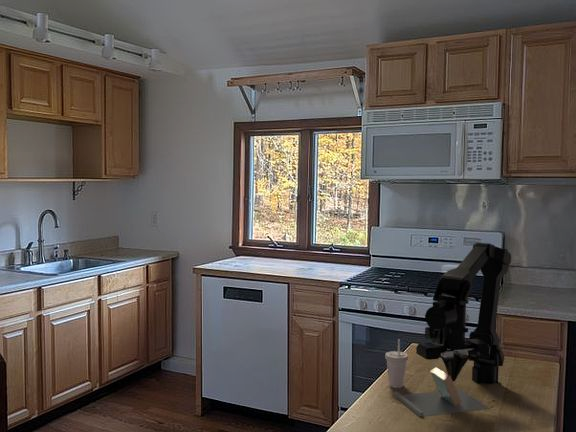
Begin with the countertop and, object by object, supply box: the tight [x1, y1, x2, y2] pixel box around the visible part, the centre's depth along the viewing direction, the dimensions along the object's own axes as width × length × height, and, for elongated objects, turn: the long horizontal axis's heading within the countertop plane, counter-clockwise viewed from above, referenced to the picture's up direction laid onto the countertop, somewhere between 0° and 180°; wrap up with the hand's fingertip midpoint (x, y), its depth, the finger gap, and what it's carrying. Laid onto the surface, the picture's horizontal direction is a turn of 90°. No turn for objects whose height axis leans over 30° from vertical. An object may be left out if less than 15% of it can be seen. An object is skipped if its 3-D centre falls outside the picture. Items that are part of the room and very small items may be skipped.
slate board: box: [393, 388, 491, 418], centre depth 151 cm, size 20×14×2 cm
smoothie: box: [384, 338, 409, 389], centre depth 162 cm, size 6×6×14 cm
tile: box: [429, 366, 461, 406], centre depth 151 cm, size 2×7×8 cm, turn 15°
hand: (452, 381), depth 151 cm, fingers closed
